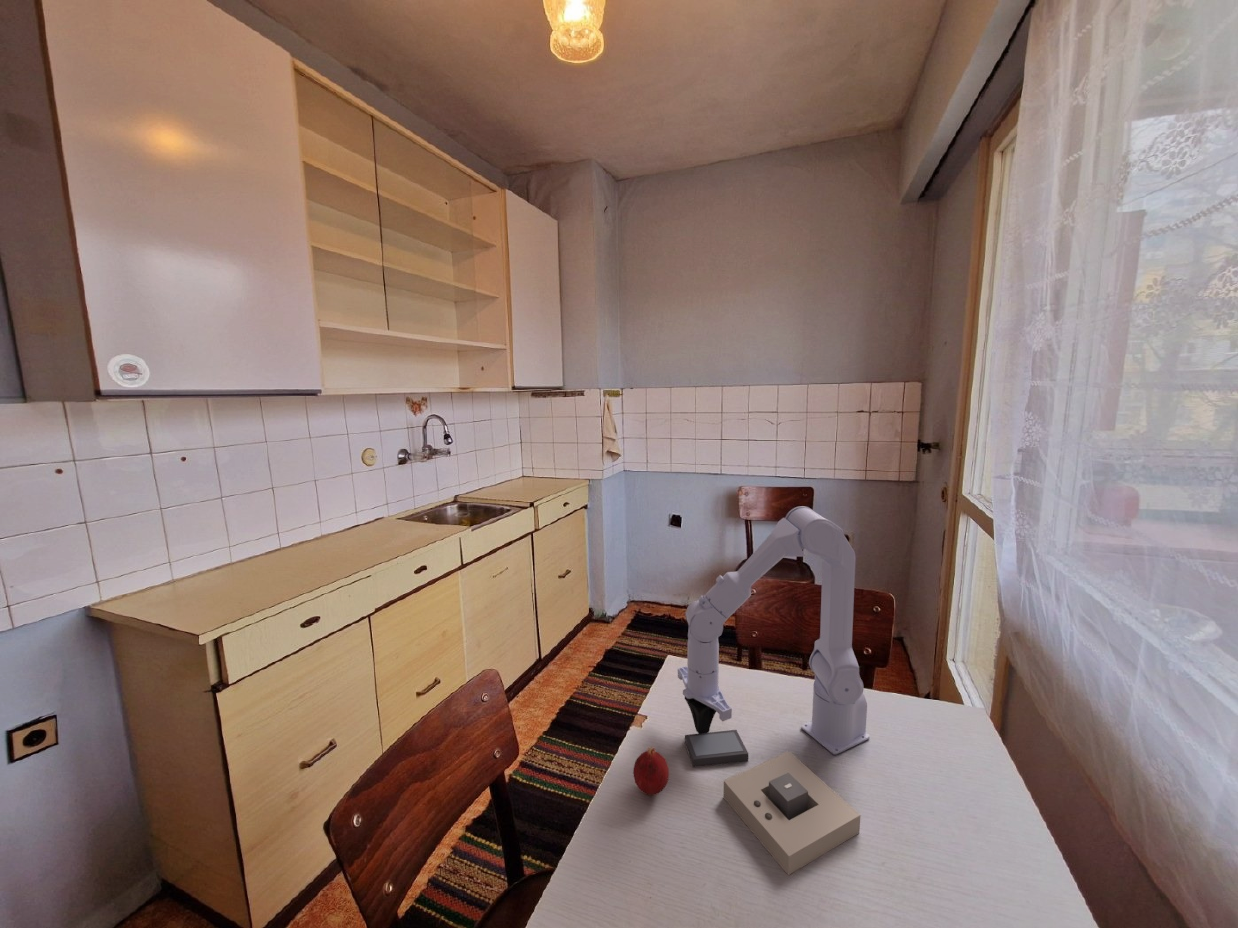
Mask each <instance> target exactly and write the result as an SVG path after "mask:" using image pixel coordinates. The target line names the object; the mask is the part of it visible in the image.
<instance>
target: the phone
mask: <svg viewBox="0 0 1238 928" xmlns="http://www.w3.org/2000/svg"><path fill="white" fill-rule="evenodd" d="M684 745H685V747H686V750H687V753H688V756H689V758H690V759H689V760H690V762H691V765H692V768H700V767H709V766H720V765H726V764H727V765H728V764H736V763H745V762H749V751H748V750H747V748H746V746H745V744H744V742H743V740H742V738H741V736H740V734H739V733H738V730H737V729H732V730H731V729H730V730H720V731H709V732H708V733H690V734H684Z"/></svg>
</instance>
